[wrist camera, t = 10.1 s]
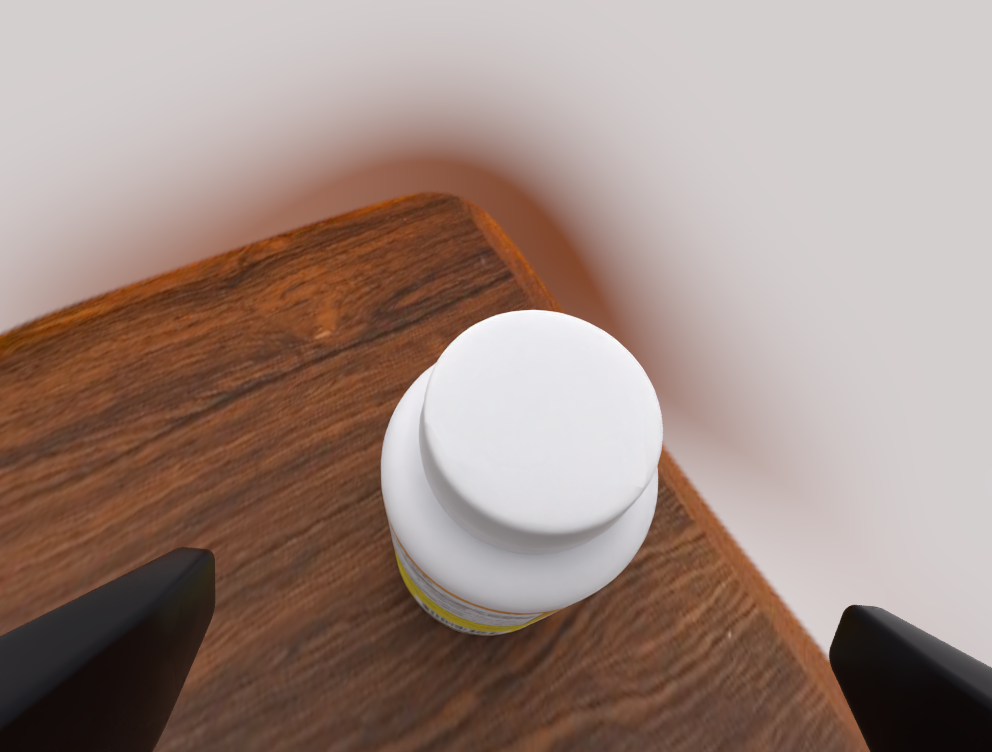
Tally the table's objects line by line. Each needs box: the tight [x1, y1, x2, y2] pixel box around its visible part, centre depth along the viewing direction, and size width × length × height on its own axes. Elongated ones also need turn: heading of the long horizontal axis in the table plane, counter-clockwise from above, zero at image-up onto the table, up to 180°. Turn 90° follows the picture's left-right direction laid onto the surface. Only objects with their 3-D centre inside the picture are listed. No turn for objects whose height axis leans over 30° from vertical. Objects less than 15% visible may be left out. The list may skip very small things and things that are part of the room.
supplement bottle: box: [381, 310, 663, 636], centre depth 14 cm, size 6×6×10 cm
